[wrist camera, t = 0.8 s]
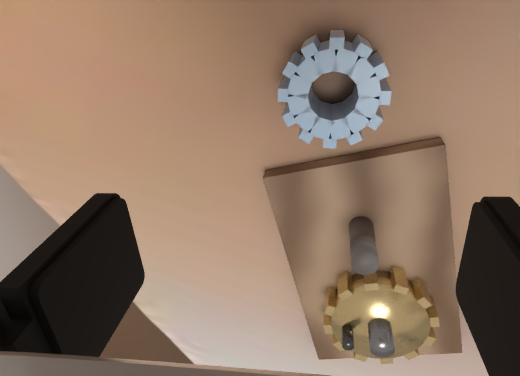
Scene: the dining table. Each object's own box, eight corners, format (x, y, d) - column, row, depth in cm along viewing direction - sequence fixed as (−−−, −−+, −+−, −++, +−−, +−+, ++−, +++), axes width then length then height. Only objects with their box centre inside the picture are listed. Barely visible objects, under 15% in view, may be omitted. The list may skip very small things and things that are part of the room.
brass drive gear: (427, 257, 33) (441, 300, 29) (437, 338, 37) (450, 386, 33) (314, 270, 36) (311, 310, 31) (334, 344, 40) (334, 389, 36)
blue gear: (376, 17, 26) (382, 23, 23) (390, 117, 29) (397, 136, 26) (273, 45, 28) (265, 55, 25) (297, 137, 31) (292, 157, 28)
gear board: (440, 137, 30) (465, 175, 24) (458, 340, 39) (478, 401, 33) (265, 170, 33) (251, 209, 28) (319, 347, 43) (316, 404, 37)
